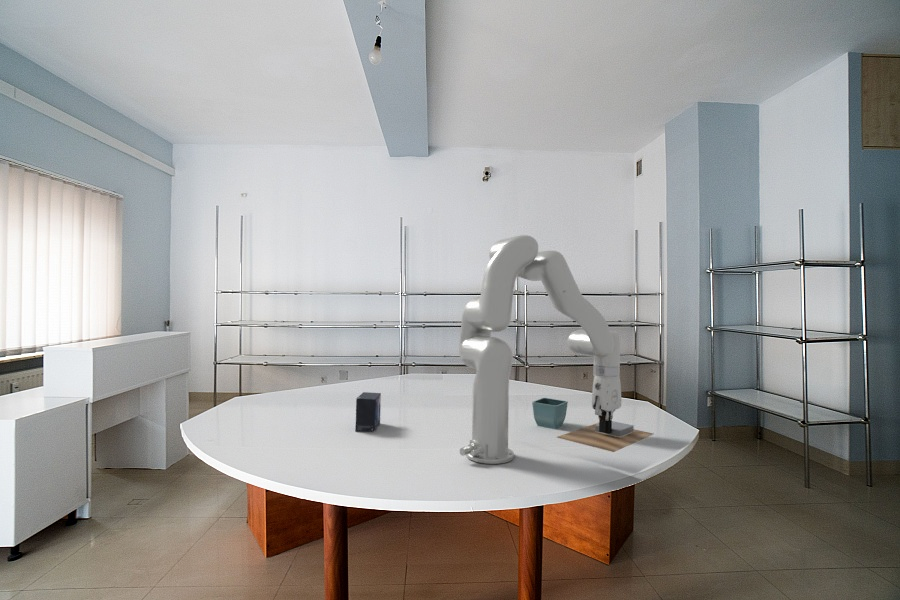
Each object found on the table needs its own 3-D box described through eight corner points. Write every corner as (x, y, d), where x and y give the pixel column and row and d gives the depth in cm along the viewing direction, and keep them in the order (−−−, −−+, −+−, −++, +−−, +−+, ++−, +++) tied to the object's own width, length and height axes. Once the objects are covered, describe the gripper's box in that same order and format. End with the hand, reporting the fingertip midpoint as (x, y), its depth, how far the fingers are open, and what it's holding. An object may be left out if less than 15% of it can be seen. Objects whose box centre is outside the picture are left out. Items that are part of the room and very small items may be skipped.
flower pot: (556, 434, 146) (556, 405, 146) (531, 429, 151) (531, 401, 151) (568, 428, 153) (568, 401, 153) (543, 424, 158) (543, 397, 158)
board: (613, 456, 125) (613, 451, 125) (556, 441, 138) (556, 437, 138) (654, 437, 143) (654, 433, 143) (599, 425, 156) (599, 422, 156)
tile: (620, 430, 139) (633, 425, 145) (595, 425, 145) (609, 420, 151) (620, 437, 139) (633, 431, 145) (595, 431, 145) (609, 426, 151)
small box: (375, 432, 146) (376, 398, 146) (354, 432, 146) (355, 398, 146) (381, 423, 156) (381, 392, 156) (361, 423, 156) (362, 391, 156)
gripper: (605, 375, 133) (604, 440, 133) (629, 370, 143) (628, 430, 143) (582, 372, 138) (580, 434, 138) (606, 368, 149) (605, 425, 149)
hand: (605, 432), depth 141 cm, fingers closed
